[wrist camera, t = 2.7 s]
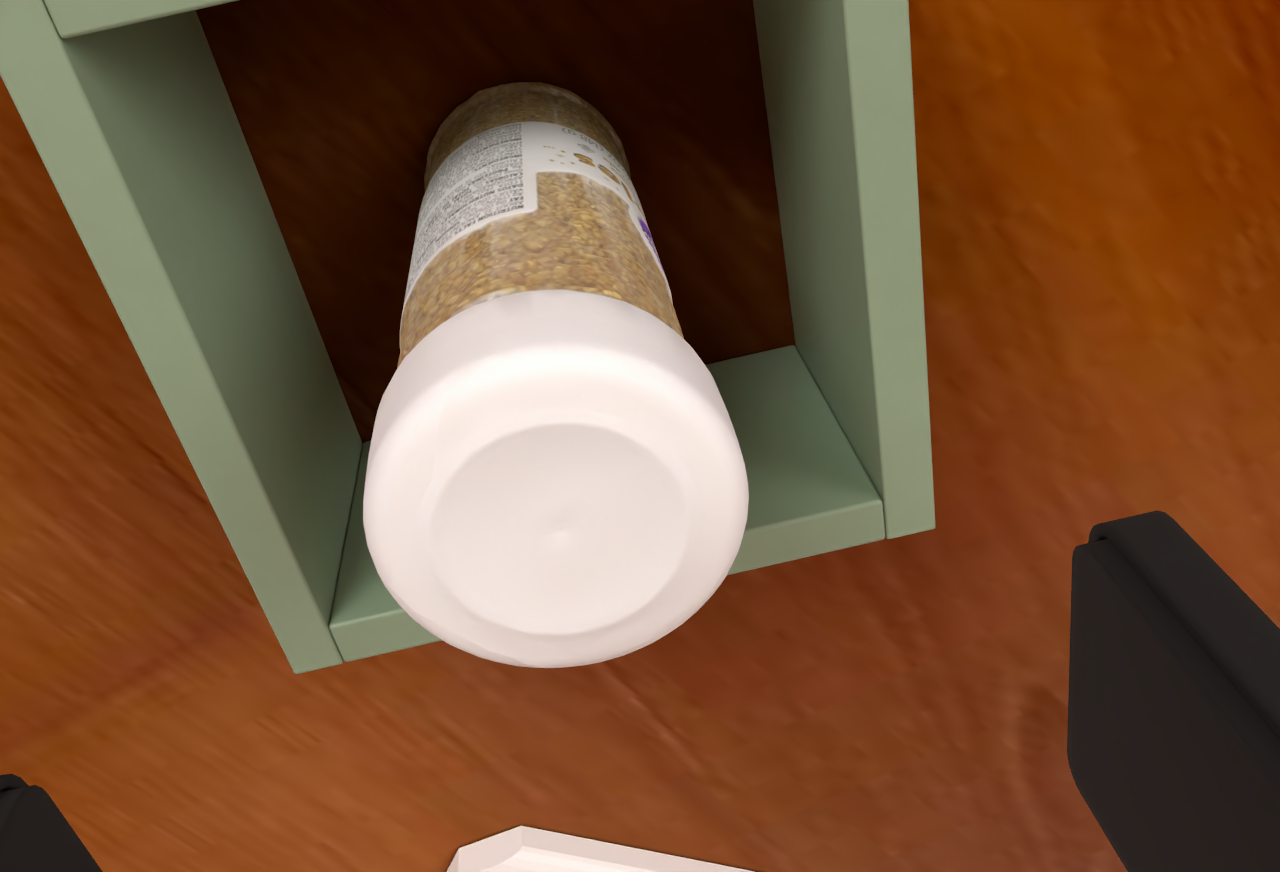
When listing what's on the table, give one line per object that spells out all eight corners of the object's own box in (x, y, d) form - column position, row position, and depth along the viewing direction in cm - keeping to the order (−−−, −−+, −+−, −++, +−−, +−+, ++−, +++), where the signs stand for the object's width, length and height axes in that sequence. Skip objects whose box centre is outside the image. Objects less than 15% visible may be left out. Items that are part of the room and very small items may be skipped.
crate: (777, -223, 20) (897, -230, 14) (837, 368, 27) (936, 529, 21) (107, -74, 20) (-48, -20, 14) (336, 482, 27) (294, 676, 21)
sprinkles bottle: (664, 208, 25) (822, 570, 13) (499, 311, 25) (510, 738, 14) (555, 29, 22) (628, 276, 11) (377, 149, 23) (268, 498, 12)
